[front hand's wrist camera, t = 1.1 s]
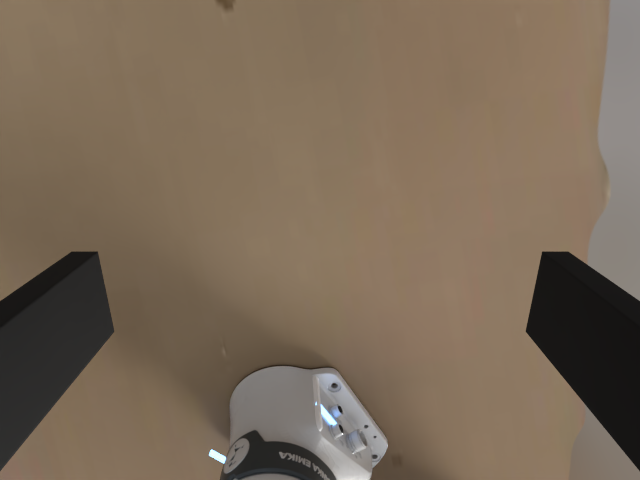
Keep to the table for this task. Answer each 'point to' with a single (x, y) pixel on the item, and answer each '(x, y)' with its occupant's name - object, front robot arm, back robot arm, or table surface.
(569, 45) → the table surface
